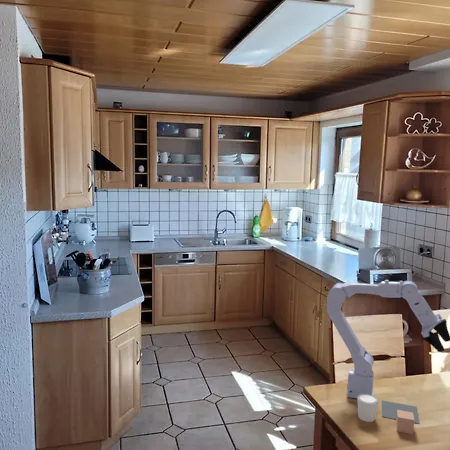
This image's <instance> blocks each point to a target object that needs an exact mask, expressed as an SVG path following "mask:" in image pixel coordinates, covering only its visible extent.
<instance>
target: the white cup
mask: <svg viewBox="0 0 450 450" xmlns="http://www.w3.org/2000/svg"><path fill="white" fill-rule="evenodd" d="M356 400H357V417H358V419H360V420H361V421H364V422H367V423H372V422H374V421H375V420H376V416H377V409H378V403H379V399H378V398H377V397H376V396H374V395H373V396H372V395H369V394H360V395H358V396H357V398H356Z"/></svg>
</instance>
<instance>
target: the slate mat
mask: <svg viewBox="0 0 450 450" xmlns="http://www.w3.org/2000/svg"><path fill="white" fill-rule="evenodd" d="M397 410H402V411H407V412H413V415H414V424H417V425H418V424H419V425H420V419H419V418H420V417H419V413H418V407H417V406H416V405H410V404H404V403H399V402H394V401H387V400H381V417H382V418H385V419H391V420H396V419H397Z"/></svg>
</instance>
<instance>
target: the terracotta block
mask: <svg viewBox="0 0 450 450" xmlns="http://www.w3.org/2000/svg"><path fill="white" fill-rule="evenodd" d="M395 420H396V421H395V422H396V423H395V425H396V432H397V433H398V432H400V433H405V434H409V435H414V429H415V423H414V415H413V412H407V411H402V410H397V419H395Z"/></svg>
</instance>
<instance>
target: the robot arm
mask: <svg viewBox="0 0 450 450" xmlns="http://www.w3.org/2000/svg"><path fill="white" fill-rule="evenodd" d="M355 294H377V295H379V296H380V297H382V298H399V299H400V298H403V299H404V300H406V302H407V303H408V305H409V307H410V309H411V310H412V313H414V315H415V317H416V318H417V320H418V321H419V323H420V324H421V326H422V327H421V332H420V334H421V335H422V336H421V339H422V340H423V341H424V342H426V343H427V344H430V345H431V346H432V347H433V348H434V349H435V350H436V351H437V352H438V353H441V352H444V351H445V348H444V346H443V343H442V342H441V339H442V340H443V341H444V342H445V343H447V342H450V332H449V330H448V327H447V326H448V325H447V320H446V318H444V319H443V317H442V316H441V314H440V313H437V314H435V313H434V311H433V310H432V308H431V307H430V305H429V303H428V302H427V300H426V299H425V298H424V296H423V295H422V293H421V292H420V291H419V290H418V285H417V284H416V283H415V282H414V281H410V280H405V281H403V280H399V281H389V279H385V280H384V281H380V282H379V283H377V284H375V283H364V282H363V283H360V282H348V281H347V282H337V283H335V284H334V285H333V286H332V288H331V289H329V291H328V293H327V297H326V300H327V301H326V313H327V315H328V316H329V318H330V320H331V322H332V324H333V325H334V327H335V329H336V330H337V332H338V333H339V336H340V337H341V340H342V341H343V342H344V344H345V346H346V348H347V349H348V351H349V352H350V357H351V361H352V363H353V367H354V368H353V370H349V369H348V375H347V376H348V377H347V384H346V390H347V393H346V395H347V397H348V398H353V399H357V396H358V395H360V394H369V395H372V396H374V394H375V393H374V392H375V391H374V389H373V388H374V376H375V375H374V374H375V372H374V371H373V365H374V362H375V360H374V359H375V358H374V357H373V355H372V354H371V353H370V352H368V351H367V349H366V348H365V347H364V346H362V344H361V342H360V340H359V338H358V337H357V335H356V334H355V332H354V330H353V329H352V326H351V325H350V324H349V322H348V320H347V318H346V317H345V314H344V313H343V311H342V307H343V304H344V302H345V300H346V298H348V299H349V298H351V297H353V295H355ZM433 330H434V331H435V332H433ZM440 337H441V339H440Z"/></svg>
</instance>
